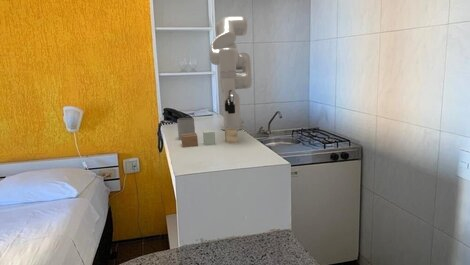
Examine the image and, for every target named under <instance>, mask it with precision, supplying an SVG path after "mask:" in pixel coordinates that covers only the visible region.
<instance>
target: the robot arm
mask: <svg viewBox="0 0 470 265" xmlns="http://www.w3.org/2000/svg"><path fill="white" fill-rule="evenodd" d="M247 32H248V21H247V18H246V17H245V16H243V15H233V16H232V15H230V16H229V15H228V16H224V17H222V18H221V19H219V21H218V22H217V23H215V33H216V34H215V35H216V37H215V38H214V39H213V40H212V41H211V43H210V46H209V61H210V63H211V64H212V65H215V66H219V83H220V89H221V95H222V115H223V116H222V117H223V125H222V126H221V127H220V128H221V129H220V130H222V131H225V129H230V128H236V129H237V131H239V130H243V129H244V128H245V127H244V125H242V124H244V123H245V119H241V100H240V99H241V98H240V95H239V93H237V92H236V90H246V89H249V88H251V87H252V85H253V80H252V79H253V77H252V63H251V62H252V61H251V56H250V55H249V53H246V52H240V51H239V49H238V48H237V45H236V43H235V42H236V39H237V37H241V36H243V37H244V36H245V35H247Z"/></svg>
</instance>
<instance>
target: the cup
mask: <svg viewBox="0 0 470 265" xmlns="http://www.w3.org/2000/svg"><path fill="white" fill-rule="evenodd" d="M177 131H178V132H177V133H178V134H177V135H178V140H181V141H182V138H181V134H190V133H196V129H195V118H194V117H182V118H181V117H180V118H177Z"/></svg>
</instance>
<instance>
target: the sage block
mask: <svg viewBox="0 0 470 265" xmlns="http://www.w3.org/2000/svg"><path fill="white" fill-rule="evenodd" d="M202 137H203V144H204V146H215V145H216V133H215V130H214V129H211V130H208V129H207V130H202Z"/></svg>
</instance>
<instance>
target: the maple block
mask: <svg viewBox="0 0 470 265" xmlns="http://www.w3.org/2000/svg"><path fill="white" fill-rule="evenodd" d="M224 134H225V136H224V137H225V139H224V140H225V142H226V144H232V143H234V144H235V143H238V130H237V129H236V128H230V129H225V130H224Z"/></svg>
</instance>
